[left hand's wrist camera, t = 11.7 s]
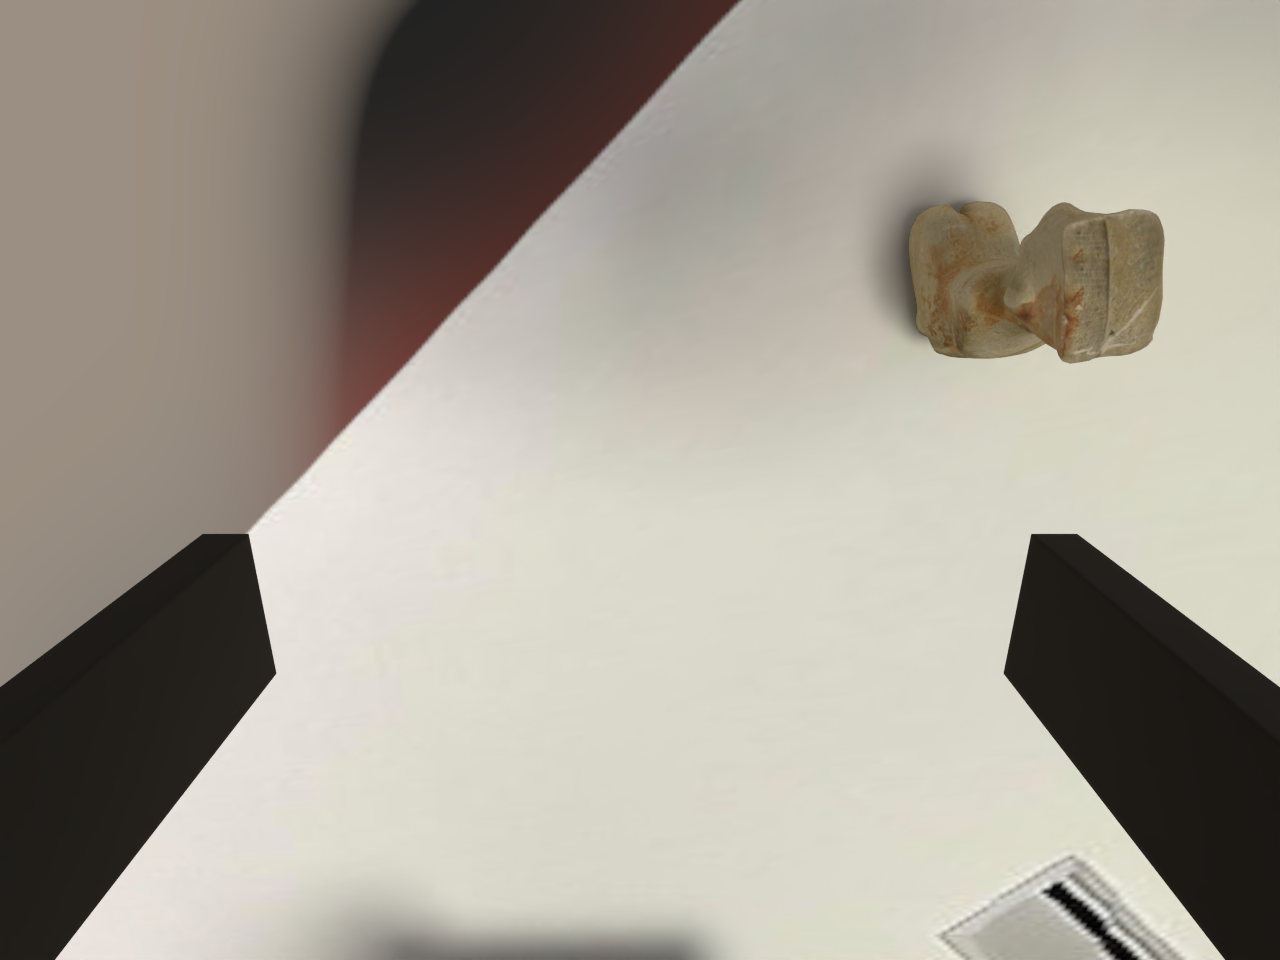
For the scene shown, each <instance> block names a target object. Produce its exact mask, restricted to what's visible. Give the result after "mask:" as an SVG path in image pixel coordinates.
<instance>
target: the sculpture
mask: <svg viewBox="0 0 1280 960" xmlns="http://www.w3.org/2000/svg"><path fill="white" fill-rule="evenodd" d="M1163 255H1164V232H1163V228H1162V225H1161V222H1160V219H1159V217H1158V216H1157V214H1155V213H1153V212H1150V211H1147V210H1135V209H1128V210H1125V211H1121V212H1117V213H1111V214H1101V213H1090V212H1084V211H1082V210H1080V209H1078V208H1076V207H1075V206H1073V205H1072V204H1069V203H1060V204H1057V205H1055V206H1053V207H1052V208H1051V209H1050V210H1049V211H1048V212H1047V213H1046V214H1045V215H1044V216H1043V218H1042V220H1041V221H1040V223H1039V224H1038V226H1037V227H1036V228H1035V229H1034V230H1033V231H1032V232H1031V233H1030V234H1028V235H1027V236H1026V237H1025V238H1024V239H1023V240H1022V241H1021V245H1020V244H1019V240H1018V237H1017V234H1016V231H1015V229H1014V226H1013V224H1012V221H1011V219H1010V216H1009V215H1008V213H1007V212H1006V210H1005V209H1004V208H1002V207H1001V206H999V205H997V204H995V203H991V202H975V203H972V204H966V205H964V206H963V207H962V209H961V211H960V213H958V212H957V211H955V210H954V209H953V208H952V207H951V206H949V205H938V206H933V207H930V208H928V209H926V210H925V211H923V212H922V213H921V214H920V215H919V216H918V217H917V218H916V220H915V222H914V224H913V226H912V229H911V232H910V237H909V257H910V266H911V274H912V281H913V287H914V292H915V297H916V303H917V314H916V317H915V318H916V324H917V328H918V330H919V332H920V333H922V334H923V335H925V336H927V337H928V338H929V341H930V343H931V345H932V347H933V349H934V350H935V351H936V352H937V353H939V354H943V355H946V356H950V357H958V358H984V359H990V358H1001V357H1008V356H1013V355H1019V354H1023V353H1027V352H1029V351H1032V350H1034V349H1036V348H1038V347H1040V346H1042V345H1044V344H1047V345H1049V346H1051V347H1053V348H1054V349H1056V350H1057V352H1058V355H1059V357H1060V359H1061V360H1062V361H1063V362H1067V363H1078V362H1083V361H1089V360H1091V359H1094V358H1098V357H1105V356H1121V355H1127V354H1131V353H1134V352H1137V351H1139V350H1141V349H1143V348H1144V347H1146V346H1147V345H1148V344H1149V343H1150V342H1151V341H1152V340H1153V333H1154V330H1155V328H1156V326H1157V323H1158V320H1159V316H1160V311H1161V305H1162V298H1163Z"/></svg>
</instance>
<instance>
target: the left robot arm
mask: <svg viewBox="0 0 1280 960" xmlns="http://www.w3.org/2000/svg"><path fill="white" fill-rule="evenodd" d="M275 675H276V669H275V664H274V659H273V654H272V649H271V644H270V639H269V634H268V629H267V624H266V619H265V614H264V609H263V604H262V599H261V594H260V589H259V584H258V579H257V574H256V569H255V564H254V559H253V554H252V549H251V544H250V539H249V534H202V535H201V536H200V537H198V538H197V539H196V540H194V541H193V542H192V543H190V544H189V545H188V546H186V547H185V548H184V549H182V550H181V551H180V552H178V553H177V554H176V555H175V556H173V557H172V558H171V559H169V560H168V561H167V562H165V563H164V564H163V565H161V566H160V567H159V568H157V569H156V570H155V571H153V572H152V573H151V574H149V575H148V576H147V577H145V578H144V579H143V580H141V581H140V582H139V583H137V584H136V585H135V586H133V587H132V588H131V589H130V590H128V591H127V592H126V593H124V594H123V595H122V596H120V597H119V598H118V599H116V600H115V601H114V602H112V603H111V604H110V605H108V606H107V607H106V608H104V609H103V610H102V611H100V612H99V613H98V614H96V615H95V616H94V617H92V618H91V619H90V620H89V621H87V622H86V623H85V624H83V625H82V626H81V627H79V628H78V629H77V630H75V631H74V632H73V633H71V634H70V635H69V636H67V637H66V638H65V639H63V640H62V641H61V642H59V643H58V644H57V645H55V646H54V647H53V648H52V649H50V650H49V651H48V652H46V653H45V654H44V655H42V656H41V657H40V658H38V659H37V660H36V661H34V662H33V663H32V664H30V665H29V666H28V667H26V668H25V669H24V670H22V671H21V672H20V673H18V674H17V675H16V676H15V677H13V678H12V679H11V680H9V681H8V682H7V683H5V684H4V685H3V686H1V687H0V960H55V959H56V958H57V956H58V955H59V954H60V952H61V951H62V950H63V949H64V947H65V946H66V945H67V943H68V942H69V941H70V940H71V938H72V937H73V936H74V934H75V933H76V932H77V930H78V929H79V928H80V927H81V925H82V924H83V923H84V921H85V920H86V919H87V918H88V916H89V915H90V914H91V912H92V911H93V910H94V908H95V907H96V906H97V905H98V903H99V902H100V901H101V899H102V898H103V897H104V896H105V894H106V893H107V892H108V890H109V889H110V888H111V887H112V885H113V884H114V883H115V881H116V880H117V879H118V877H119V876H120V875H121V874H122V872H123V871H124V870H125V868H126V867H127V866H128V865H129V863H130V862H131V861H132V859H133V858H134V857H135V855H136V854H137V853H138V852H139V850H140V849H141V848H142V846H143V845H144V844H145V843H146V841H147V840H148V839H149V837H150V836H151V835H152V834H153V832H154V831H155V830H156V828H157V827H158V826H159V824H160V823H161V822H162V821H163V819H164V818H165V817H166V815H167V814H168V813H169V812H170V810H171V809H172V808H173V806H174V805H175V804H176V803H177V801H178V800H179V799H180V797H181V796H182V795H183V793H184V792H185V791H186V790H187V788H188V787H189V786H190V784H191V783H192V782H193V781H194V779H195V778H196V777H197V775H198V774H199V773H200V771H201V770H202V769H203V768H204V766H205V765H206V764H207V762H208V761H209V760H210V759H211V757H212V756H213V755H214V753H215V752H216V751H217V750H218V748H219V747H220V746H221V744H222V743H223V742H224V740H225V739H226V738H227V737H228V735H229V734H230V733H231V731H232V730H233V729H234V728H235V726H236V725H237V724H238V722H239V721H240V720H241V718H242V717H243V716H244V715H245V713H246V712H247V711H248V709H249V708H250V707H251V706H252V704H253V703H254V702H255V700H256V699H257V698H258V697H259V695H260V694H261V693H262V691H263V690H264V689H265V687H266V686H267V685H268V684H269V682H270V681H271V680H272V678H273V677H274V676H275ZM1004 675H1005V676H1006V677H1007V678H1008V680H1009V681H1010V682H1011V684H1012V685H1013V686H1014V687H1015V689H1016V690H1017V691H1018V693H1019V694H1020V695H1021V697H1022V698H1023V699H1024V700H1025V702H1026V703H1027V704H1028V706H1029V707H1030V708H1031V709H1032V711H1033V712H1034V713H1035V715H1036V716H1037V717H1038V718H1039V720H1040V721H1041V722H1042V724H1043V725H1044V726H1045V728H1046V729H1047V730H1048V731H1049V733H1050V734H1051V735H1052V737H1053V738H1054V739H1055V740H1056V742H1057V743H1058V744H1059V746H1060V747H1061V748H1062V750H1063V751H1064V752H1065V753H1066V755H1067V756H1068V757H1069V759H1070V760H1071V761H1072V762H1073V764H1074V765H1075V766H1076V768H1077V769H1078V770H1079V771H1080V773H1081V774H1082V775H1083V777H1084V778H1085V779H1086V781H1087V782H1088V783H1089V784H1090V786H1091V787H1092V788H1093V790H1094V791H1095V792H1096V793H1097V795H1098V796H1099V797H1100V799H1101V800H1102V801H1103V803H1104V804H1105V805H1106V806H1107V808H1108V809H1109V810H1110V812H1111V813H1112V814H1113V815H1114V817H1115V818H1116V819H1117V821H1118V822H1119V823H1120V824H1121V826H1122V827H1123V828H1124V830H1125V831H1126V832H1127V834H1128V835H1129V836H1130V837H1131V839H1132V840H1133V841H1134V843H1135V844H1136V845H1137V846H1138V848H1139V849H1140V850H1141V852H1142V853H1143V854H1144V855H1145V857H1146V858H1147V859H1148V861H1149V862H1150V863H1151V865H1152V866H1153V867H1154V868H1155V870H1156V871H1157V872H1158V874H1159V875H1160V876H1161V877H1162V879H1163V880H1164V881H1165V883H1166V884H1167V885H1168V887H1169V888H1170V889H1171V890H1172V892H1173V893H1174V894H1175V896H1176V897H1177V898H1178V899H1179V901H1180V902H1181V903H1182V905H1183V906H1184V907H1185V908H1186V910H1187V911H1188V912H1189V914H1190V915H1191V916H1192V918H1193V919H1194V920H1195V921H1196V923H1197V924H1198V925H1199V927H1200V928H1201V929H1202V930H1203V932H1204V933H1205V934H1206V936H1207V937H1208V938H1209V940H1210V941H1211V942H1212V943H1213V945H1214V946H1215V947H1216V949H1217V950H1218V951H1219V952H1220V954H1221V955H1222V956H1223V958H1224V959H1225V960H1280V687H1279V686H1277V685H1276V684H1275V683H1273V682H1272V681H1271V680H1269V679H1268V678H1267V677H1266V676H1264V675H1263V674H1262V673H1260V672H1259V671H1258V670H1256V669H1255V668H1254V667H1252V666H1251V665H1250V664H1248V663H1247V662H1246V661H1244V660H1243V659H1242V658H1240V657H1239V656H1238V655H1236V654H1235V653H1234V652H1232V651H1231V650H1230V649H1229V648H1227V647H1226V646H1225V645H1223V644H1222V643H1221V642H1219V641H1218V640H1217V639H1215V638H1214V637H1213V636H1211V635H1210V634H1209V633H1207V632H1206V631H1205V630H1203V629H1202V628H1201V627H1199V626H1198V625H1197V624H1195V623H1194V622H1193V621H1191V620H1190V619H1189V618H1188V617H1186V616H1185V615H1184V614H1182V613H1181V612H1180V611H1178V610H1177V609H1176V608H1174V607H1173V606H1172V605H1170V604H1169V603H1168V602H1166V601H1165V600H1164V599H1162V598H1161V597H1160V596H1158V595H1157V594H1156V593H1154V592H1153V591H1152V590H1150V589H1149V588H1148V587H1147V586H1145V585H1144V584H1143V583H1141V582H1140V581H1139V580H1137V579H1136V578H1135V577H1133V576H1132V575H1131V574H1129V573H1128V572H1127V571H1125V570H1124V569H1123V568H1121V567H1120V566H1119V565H1117V564H1116V563H1115V562H1113V561H1112V560H1111V559H1109V558H1108V557H1107V556H1106V555H1104V554H1103V553H1102V552H1100V551H1099V550H1098V549H1096V548H1095V547H1094V546H1092V545H1091V544H1090V543H1088V542H1087V541H1086V540H1084V539H1083V538H1082V537H1080V536H1079V535H1078V534H1031V539H1030V544H1029V549H1028V554H1027V559H1026V564H1025V569H1024V574H1023V579H1022V584H1021V589H1020V594H1019V599H1018V604H1017V609H1016V614H1015V619H1014V624H1013V629H1012V634H1011V639H1010V644H1009V649H1008V654H1007V659H1006V664H1005V669H1004Z"/></svg>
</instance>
